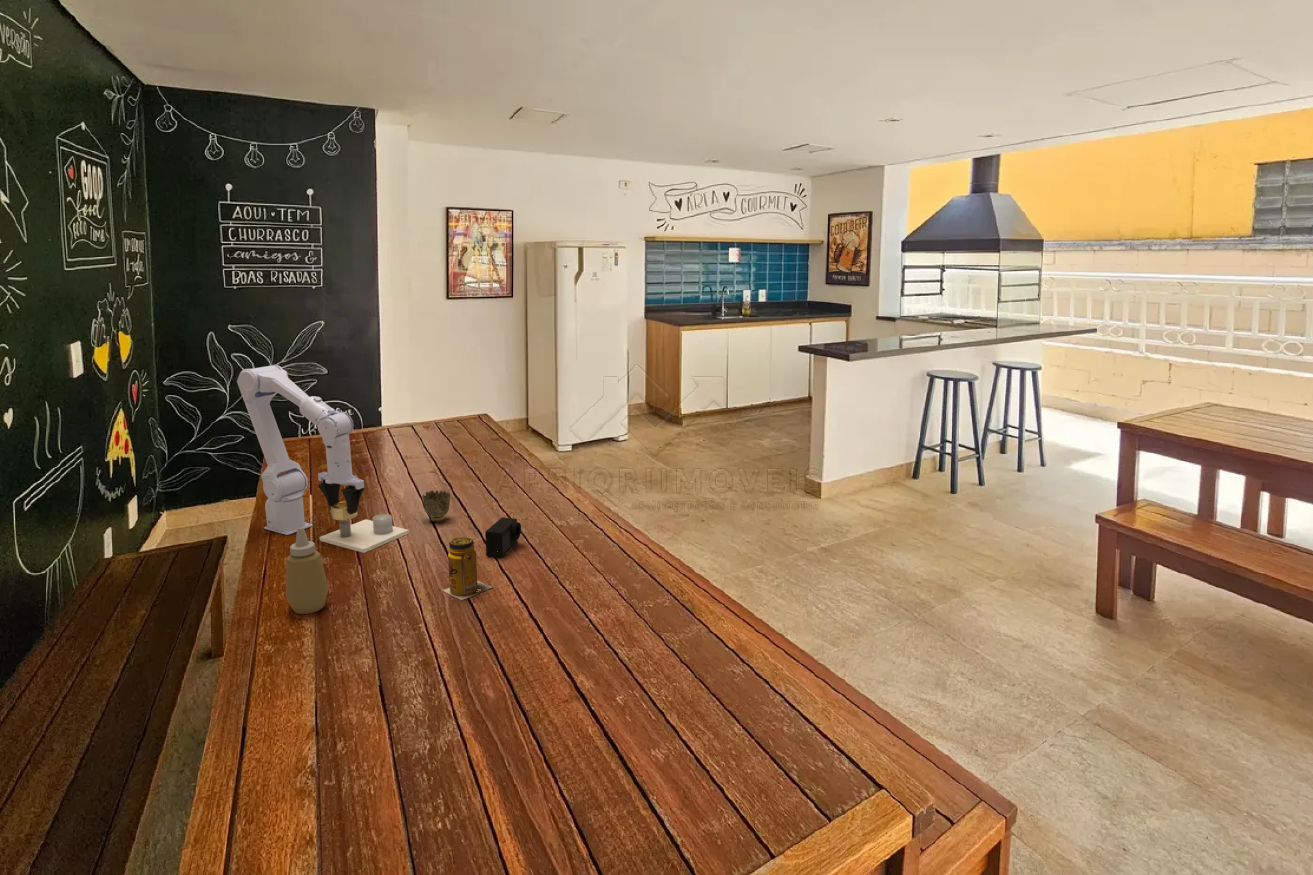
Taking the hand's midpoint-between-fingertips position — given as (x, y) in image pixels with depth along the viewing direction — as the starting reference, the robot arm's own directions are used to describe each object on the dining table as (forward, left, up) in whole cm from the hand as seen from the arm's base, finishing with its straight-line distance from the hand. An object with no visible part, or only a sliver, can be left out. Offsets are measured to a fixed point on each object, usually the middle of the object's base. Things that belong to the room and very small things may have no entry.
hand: (343, 510), depth 186 cm
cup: (+11, +22, -8) cm, 26 cm away
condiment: (+47, -7, -8) cm, 48 cm away
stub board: (+3, +3, -8) cm, 9 cm away
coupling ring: (0, 0, -2) cm, 2 cm away
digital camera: (+40, +15, -8) cm, 44 cm away
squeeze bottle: (+24, -30, -8) cm, 39 cm away
